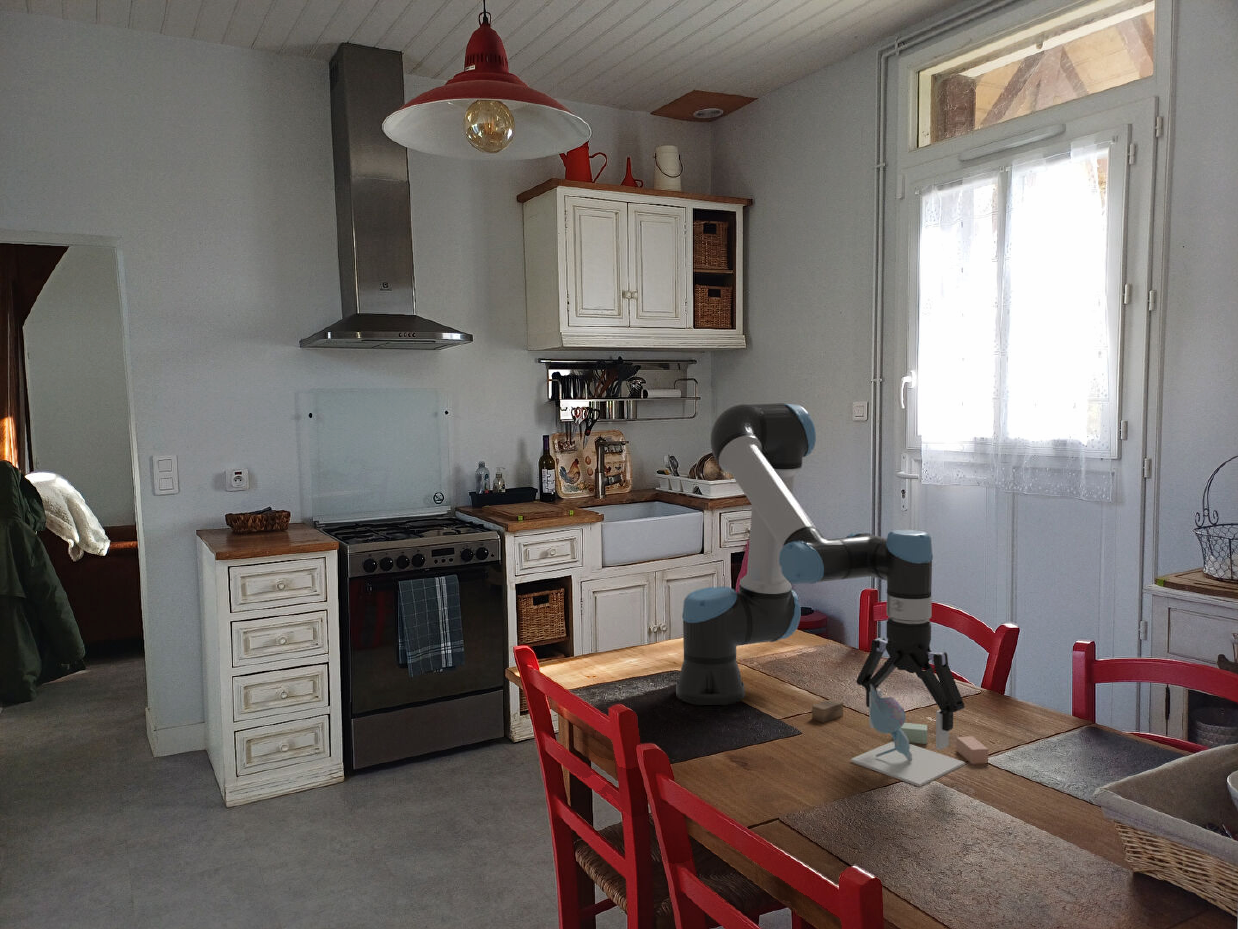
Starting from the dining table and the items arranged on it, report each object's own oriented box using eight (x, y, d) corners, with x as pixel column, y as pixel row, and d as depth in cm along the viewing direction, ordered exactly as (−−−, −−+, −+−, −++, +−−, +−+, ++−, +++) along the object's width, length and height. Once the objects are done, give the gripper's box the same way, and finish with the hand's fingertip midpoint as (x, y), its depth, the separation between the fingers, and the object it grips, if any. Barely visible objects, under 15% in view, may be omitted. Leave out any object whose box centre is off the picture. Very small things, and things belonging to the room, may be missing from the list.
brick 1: (823, 724, 181) (823, 709, 181) (812, 720, 183) (812, 705, 183) (843, 717, 184) (842, 703, 184) (831, 713, 187) (831, 699, 187)
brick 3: (956, 753, 165) (956, 737, 165) (971, 752, 165) (972, 736, 165) (971, 766, 159) (972, 749, 159) (988, 765, 159) (988, 749, 159)
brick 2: (893, 742, 171) (893, 727, 170) (894, 737, 173) (894, 721, 173) (927, 746, 169) (927, 730, 168) (927, 740, 172) (927, 724, 171)
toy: (907, 774, 156) (878, 701, 154) (879, 766, 162) (851, 695, 160) (931, 753, 159) (903, 681, 157) (903, 745, 165) (876, 675, 163)
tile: (850, 762, 161) (850, 759, 161) (896, 742, 170) (896, 739, 170) (919, 787, 150) (919, 784, 150) (965, 765, 159) (965, 762, 159)
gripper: (837, 609, 166) (837, 722, 167) (962, 636, 146) (960, 763, 148) (862, 603, 170) (862, 713, 172) (986, 628, 151) (984, 751, 152)
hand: (907, 736), depth 160 cm, fingers open, 13 cm apart
